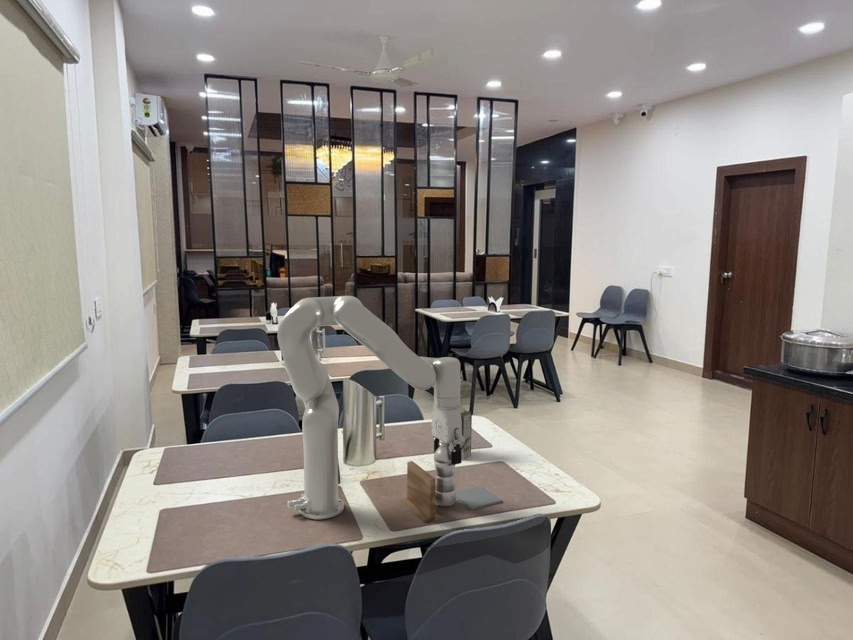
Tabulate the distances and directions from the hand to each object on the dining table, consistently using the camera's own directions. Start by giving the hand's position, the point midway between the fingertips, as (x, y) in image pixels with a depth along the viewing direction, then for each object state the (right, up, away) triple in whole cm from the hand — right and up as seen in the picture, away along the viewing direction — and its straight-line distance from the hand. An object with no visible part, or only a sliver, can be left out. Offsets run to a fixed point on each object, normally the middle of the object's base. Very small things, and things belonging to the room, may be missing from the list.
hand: (447, 458), depth 162 cm
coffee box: (+5, -9, +40) cm, 41 cm away
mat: (+9, -14, +6) cm, 17 cm away
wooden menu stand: (-8, -14, -2) cm, 17 cm away
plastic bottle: (-1, -14, +2) cm, 14 cm away
